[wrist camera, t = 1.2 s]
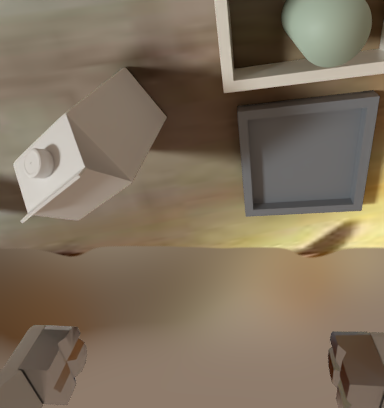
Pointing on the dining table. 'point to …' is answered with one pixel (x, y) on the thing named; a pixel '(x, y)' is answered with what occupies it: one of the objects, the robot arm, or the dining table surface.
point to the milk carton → (90, 150)
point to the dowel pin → (327, 29)
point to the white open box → (285, 63)
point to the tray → (307, 153)
